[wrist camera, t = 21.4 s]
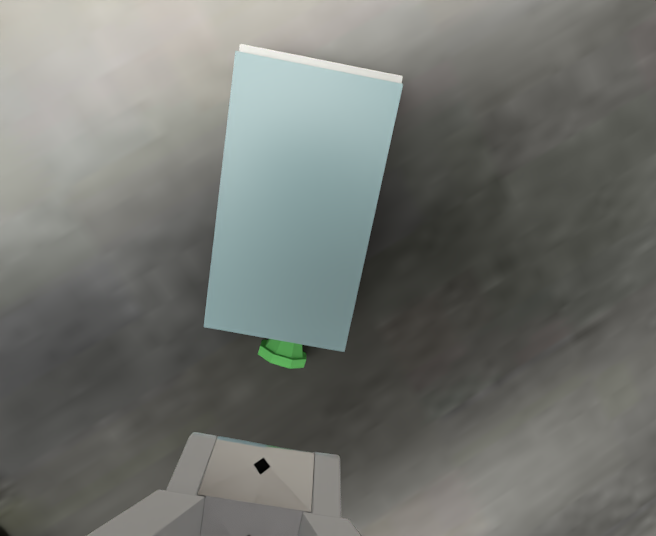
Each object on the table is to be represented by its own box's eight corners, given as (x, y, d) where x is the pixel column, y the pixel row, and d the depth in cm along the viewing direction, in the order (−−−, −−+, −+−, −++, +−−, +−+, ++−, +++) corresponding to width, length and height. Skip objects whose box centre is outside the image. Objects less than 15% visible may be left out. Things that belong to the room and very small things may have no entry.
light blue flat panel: (344, 345, 36) (344, 352, 35) (207, 321, 35) (203, 326, 34) (401, 84, 30) (403, 84, 29) (238, 52, 30) (235, 50, 29)
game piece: (247, 352, 40) (269, 283, 40) (270, 343, 45) (290, 281, 44) (293, 373, 39) (317, 302, 38) (312, 362, 43) (334, 298, 43)
